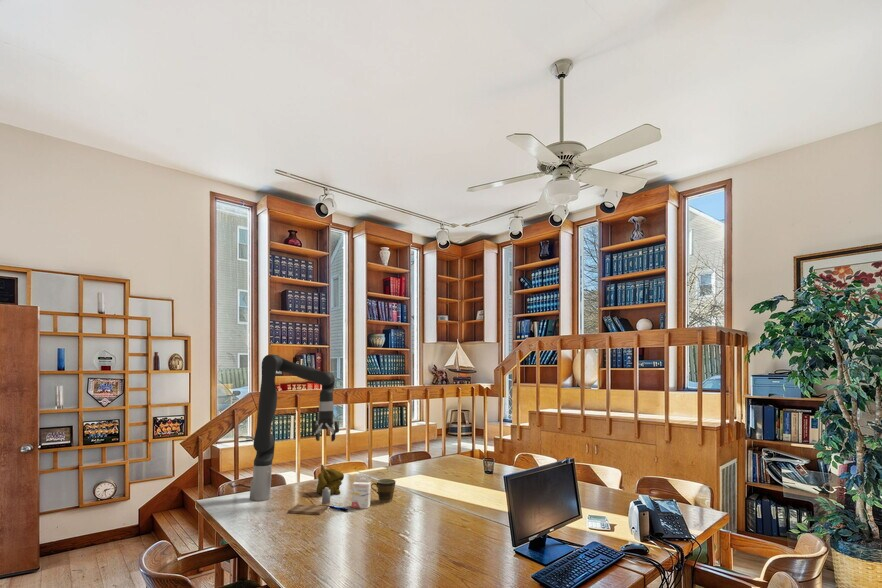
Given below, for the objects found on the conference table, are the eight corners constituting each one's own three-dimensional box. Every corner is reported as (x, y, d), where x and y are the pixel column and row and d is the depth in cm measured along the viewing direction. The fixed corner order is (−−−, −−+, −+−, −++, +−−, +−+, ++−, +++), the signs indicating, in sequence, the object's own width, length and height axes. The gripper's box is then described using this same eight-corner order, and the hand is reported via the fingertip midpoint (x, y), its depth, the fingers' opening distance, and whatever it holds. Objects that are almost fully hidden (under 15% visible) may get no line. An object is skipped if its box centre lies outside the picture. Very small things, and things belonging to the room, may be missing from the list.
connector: (320, 506, 239) (321, 488, 240) (323, 504, 243) (324, 486, 244) (328, 506, 238) (329, 488, 239) (331, 504, 242) (332, 486, 243)
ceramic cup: (392, 497, 256) (393, 478, 257) (397, 502, 246) (397, 482, 248) (368, 499, 252) (369, 479, 253) (372, 504, 242) (372, 484, 244)
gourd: (318, 490, 269) (319, 464, 271) (343, 489, 271) (344, 463, 273) (315, 497, 256) (316, 470, 257) (342, 496, 258) (343, 469, 259)
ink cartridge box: (351, 508, 237) (352, 477, 239) (353, 505, 241) (355, 474, 244) (368, 508, 236) (369, 477, 238) (370, 505, 241) (371, 475, 243)
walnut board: (287, 513, 228) (288, 510, 228) (297, 506, 237) (297, 504, 237) (319, 514, 225) (319, 511, 225) (327, 508, 235) (327, 505, 235)
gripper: (310, 410, 254) (309, 441, 252) (335, 410, 251) (334, 442, 249) (317, 409, 261) (316, 439, 259) (341, 409, 258) (340, 440, 256)
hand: (325, 441), depth 254 cm, fingers open, 8 cm apart
